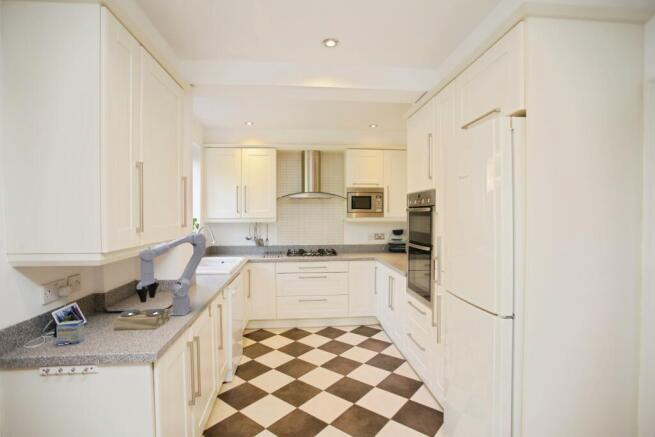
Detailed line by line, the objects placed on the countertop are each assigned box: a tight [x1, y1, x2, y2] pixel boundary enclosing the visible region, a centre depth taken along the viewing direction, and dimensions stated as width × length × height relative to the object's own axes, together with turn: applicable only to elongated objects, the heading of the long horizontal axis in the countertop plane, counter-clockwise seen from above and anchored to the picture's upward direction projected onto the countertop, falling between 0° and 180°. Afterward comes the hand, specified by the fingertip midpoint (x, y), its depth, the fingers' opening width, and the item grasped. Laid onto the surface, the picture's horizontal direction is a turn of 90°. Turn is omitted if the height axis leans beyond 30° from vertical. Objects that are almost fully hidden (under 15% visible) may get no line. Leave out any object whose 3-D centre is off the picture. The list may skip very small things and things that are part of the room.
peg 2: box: [146, 308, 165, 317], centre depth 147 cm, size 8×8×5 cm
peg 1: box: [119, 308, 141, 317], centre depth 147 cm, size 8×8×5 cm
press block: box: [113, 308, 171, 331], centre depth 147 cm, size 13×19×5 cm
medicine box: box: [56, 319, 85, 345], centre depth 127 cm, size 8×4×9 cm, turn 106°
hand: (147, 299), depth 151 cm, fingers open, 7 cm apart
